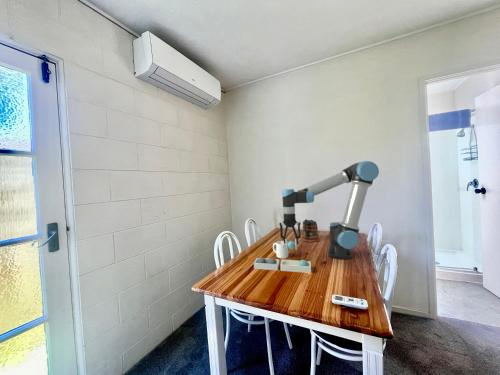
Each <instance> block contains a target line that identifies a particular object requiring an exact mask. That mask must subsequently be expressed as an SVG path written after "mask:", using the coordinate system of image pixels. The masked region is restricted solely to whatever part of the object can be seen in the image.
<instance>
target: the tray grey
mask: <svg viewBox="0 0 500 375" xmlns="http://www.w3.org/2000/svg"><path fill="white" fill-rule="evenodd" d="M259 258H260V257H257V258H256V259H255V261H254V262H253V269H254V270H266V271H267V270H268V271H279V267H280V258H279V259H278V258H276V259H275V258H274V259H275V260H276V264H267V261H268V259H269V258H265V260H266V263H257V260H258V259H259Z"/></svg>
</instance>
